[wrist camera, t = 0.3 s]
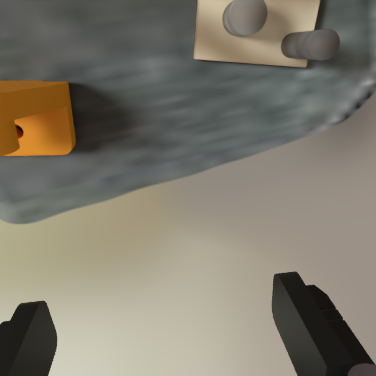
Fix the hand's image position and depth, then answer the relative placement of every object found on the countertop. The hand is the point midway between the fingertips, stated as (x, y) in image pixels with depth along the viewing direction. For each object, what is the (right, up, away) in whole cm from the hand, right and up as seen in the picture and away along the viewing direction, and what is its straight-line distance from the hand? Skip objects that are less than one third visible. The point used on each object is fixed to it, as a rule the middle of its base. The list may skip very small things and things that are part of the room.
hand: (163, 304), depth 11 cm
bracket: (-17, +12, +23) cm, 31 cm away
